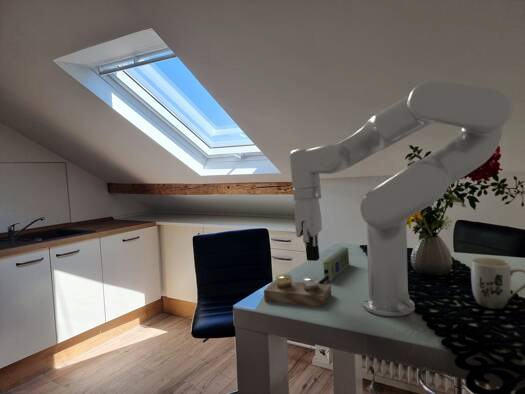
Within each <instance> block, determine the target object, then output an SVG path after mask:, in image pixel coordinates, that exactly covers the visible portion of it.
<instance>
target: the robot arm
mask: <svg viewBox="0 0 525 394" xmlns="http://www.w3.org/2000/svg"><path fill="white" fill-rule="evenodd" d="M513 108H514V107H513V102H512V101H511V99H510V96H508V94H506V93H505V92H503V91H502V90H498V89H497V88H491V87H486V86H478V85H477V86H476V85H471V84H470V85H469V84H462V83H456V82H449V81H442V80H433V79H432V80H426V81H423V82H421V83H418V84H417V85H416V86H414V87H413V88H412V90H411V92H410V93H409V94H408V95H406V96H405V97H403V98H401V99H400V100H398V101H396V102H395V103H393V104H392V105H390V106H388V107H386V108H384V109H383V110H381V111H379V112H378V113H376V114H374V115H373V116H371V117H370V118H369V119H368V120H367V122H366V123H365V124H364V125H363V126H362V127H361V128H359V130H357V131H356V132H355V133H353V134H351V135H350V136H348V137H347V138H345V139H342V140H340V142H337V143H335V144H334V143H332V144H331V143H330V144H329V143H328V144H324V145H320V146H317V147H313V148H312V147H307V148H304V147H303V148H297V149H293V150H291V151H290V154H289V163H290V174H291V186H292V194H293V195H292V196H293V201H294V202H295V203H294V222H295V224H294V226H295V235H296V237H297V238H301V237H302V242H303V243H304V246H305V254H306V261H308V262H309V261H310V262H311V261H312V262H316V261H319V259H320V249H319V233H321V231H322V230H323V223H322V213H321V206H320V199H322V192H321V191H322V190H321V179H320V178H321V177H320V174H323V175H324V174H326V175H329V174H330V175H331V174H335V173H339V172H342V171H346V170H347V169H349V168H351V167H353V166H354V165H357V164H358V163H360V162H361V161H364V160H366V159H367V158H369V157H371V156H372V155H373V156H374V155H375V154H377V153H378V152H381V151H384V150H386V149H388V148H389V147H391V146H393V145H395V144H396V143H398V142H400V141H402V140H404V139H405V138H407V137H409V136H411V135H413V134H415V133H416V132H419V131H421V130H422V129H425V128H426V127H428V126H430V125H432V124H433V123H438V124H442V125H447V126H453V127H459V128H461V130H460V131H459V133H458V134H457V135H456V136H455V137H453V139H451V140H450V141H448V142H446V143H445V144H444V145H442V146H441V147H439V148H438V149H436V150H434V151H433V152H431V153H430V154H428V155H427V156H424V157H423V158H421V159H419V160H416V161H415V162H412V163H411V164H409V165H408V166H407V167H405V168H404V169H402V170H400V171H399V172H397V173H396V174H394V175H393V176H391V177H390V178H388V179H386V180H385V181H384V182H382V183H381V184H379V185H376V186H374V187H373V188H372V189H371V190H370V191H369V190H368V192H367V193H366V194H365V195H364V196H363V198H362V200H361V203H360V209H359V210H360V214H361V215H360V216H361V217H362V219H363V221H364V222H365V223H366V241H367V242H366V245H367V273H368V275H367V276H368V277H367V278H368V281H367V282H368V296H366V297H365V298H364V299H363V301H362V306H363V308H364V309H365V310H366V311H368V312H370V313H372V314H375V315H379V316H385V317H403V316H407V315H410V314H412V313H413V312H414V311H415V310H416V307H415V306H416V304H415V302H414V301H413V300H412V299H410V294H409V290H408V289H409V287H408V286H409V285H408V284H409V283H408V281H409V280H408V234H407V232H408V231H407V220H408V219H409V218H410V217H413V216H415V215H416V214H418V213H420V212H421V211H422V210H425V209H426V208H428V207H430V206H431V205H433V204H434V203H436V202H437V201H438V200H440V199H441V198H443V196H444V195H445V194H446V192H447V191H448V188H449V187H450V186H451V185H453V184H455V183H456V182H458V181H459V180H461V179H463V178H464V177H465V176H467V175H469V174H470V173H472V172H473V171H475V170H476V169H478V168H479V167H481V166H482V165H484V164H485V163H486V162H487V161H488V160H489V159H490V158H491V157H492V156H493V155H494V153H495V152H496V150H497V149H498V148H499V147H498V146H499V145H500V142H501V140H502V136H503V128H504V127H503V126H505V125H506V124H507V123H508V122H509V120H510V119H511V117H512V114H513Z"/></svg>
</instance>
